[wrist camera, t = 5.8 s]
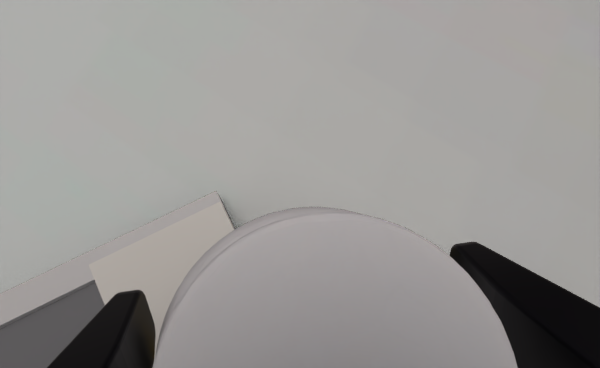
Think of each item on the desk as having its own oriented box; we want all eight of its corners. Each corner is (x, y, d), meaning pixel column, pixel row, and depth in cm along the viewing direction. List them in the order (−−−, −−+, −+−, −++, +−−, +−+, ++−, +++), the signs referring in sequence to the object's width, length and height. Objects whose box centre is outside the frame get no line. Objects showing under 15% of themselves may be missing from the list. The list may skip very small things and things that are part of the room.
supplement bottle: (402, 276, 15) (624, 226, 5) (364, 456, 13) (568, 834, 4) (243, 230, 15) (178, 101, 5) (189, 403, 13) (-31, 641, 4)
